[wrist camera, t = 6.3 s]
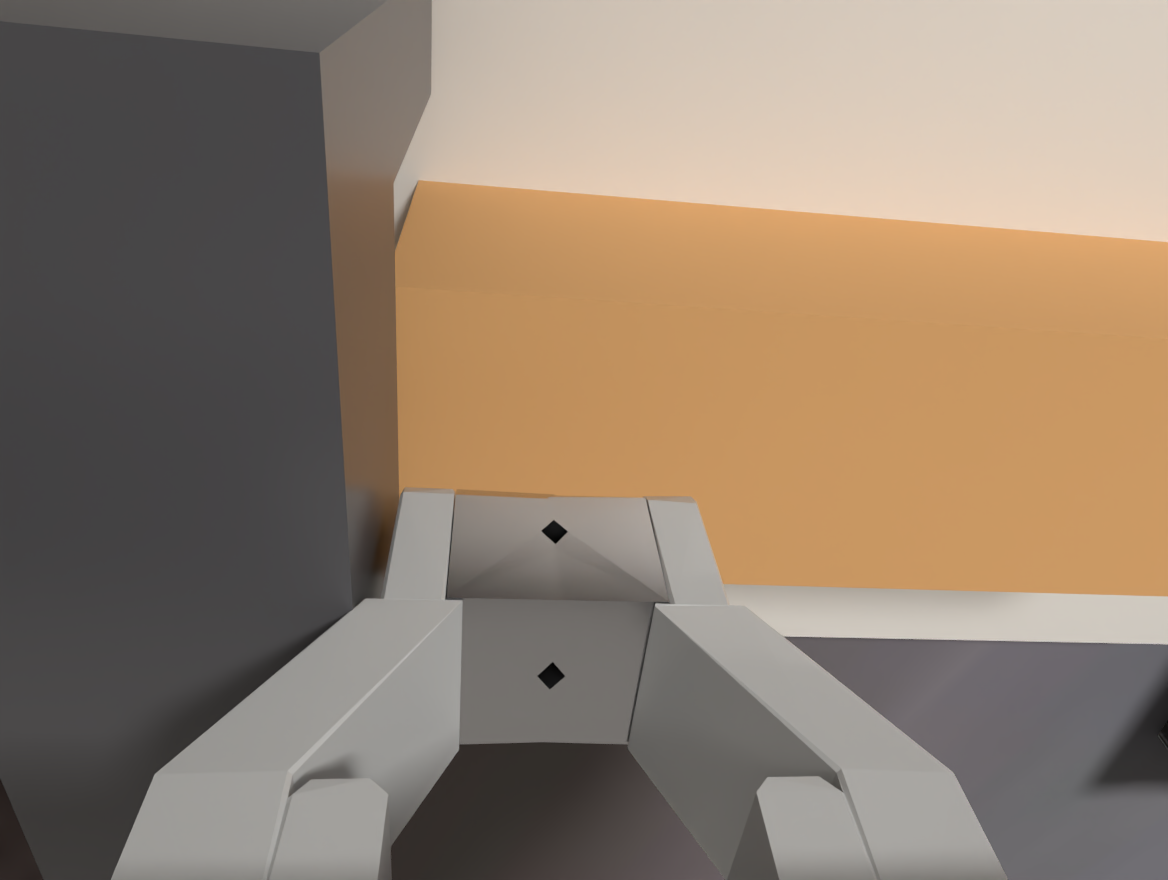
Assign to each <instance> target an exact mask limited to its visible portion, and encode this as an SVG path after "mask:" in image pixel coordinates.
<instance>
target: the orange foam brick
mask: <svg viewBox="0 0 1168 880" xmlns="http://www.w3.org/2000/svg"><path fill="white" fill-rule="evenodd" d="M395 294H396V351H397V407H398V464H399V499H400V495H401V493H402V491H403V490H404V488H405V487H413V488H441V489H453V490H454V491H455V492H456V491H457V489H464V490H482V491H501V492H519V493H537V494H555V495H559V496H599V497H639V498H643V496H691V497H692V498H693V499H694V500H695V501H696V502H697V504H698V508H699V511H700V514H701V517H702V520H703V523H704V526H705V529H706V532H707V535H708V539H709V542H710V545H711V548H712V551H713V554H714V557H715V560H716V563H717V566H718V570H719V573H720V576H721V579H722V582H723V584H737V585H773V586H809V587H845V588H881V589H916V590H952V591H988V592H1024V593H1060V594H1096V595H1131V596H1167V597H1168V242H1161V241H1148V240H1136V239H1124V238H1112V237H1100V236H1088V235H1076V234H1064V233H1052V232H1040V231H1028V230H1015V229H1003V228H991V227H979V226H967V225H955V224H943V223H931V222H919V221H907V220H894V219H882V218H870V217H858V216H846V215H834V214H822V213H810V212H798V211H786V210H773V209H761V208H749V207H737V206H725V205H713V204H701V203H689V202H677V201H665V200H652V199H640V198H628V197H616V196H604V195H592V194H580V193H568V192H556V191H544V190H532V189H519V188H507V187H495V186H483V185H471V184H459V183H447V182H435V181H423V180H419V181H418V184H417V187H416V190H415V193H414V196H413V199H412V202H411V205H410V208H409V211H408V214H407V217H406V220H405V223H404V226H403V229H402V232H401V235H400V238H399V241H398V244H397V247H396V250H395Z"/></svg>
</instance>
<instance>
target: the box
mask: <svg viewBox="0 0 1168 880" xmlns="http://www.w3.org/2000/svg"><path fill="white" fill-rule="evenodd" d="M1158 737H1159V738H1160V740H1161V741H1162V743H1163V744H1164V746H1165V747H1166V748H1167V750H1168V721H1167V723H1166V724H1165V725H1164V727H1163V728H1162V730H1161V731H1160V732H1159V734H1158Z"/></svg>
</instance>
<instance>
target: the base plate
mask: <svg viewBox="0 0 1168 880" xmlns="http://www.w3.org/2000/svg"><path fill="white" fill-rule="evenodd" d="M419 180H423V181H435V182H447V183H459V184H471V185H483V186H495V187H507V188H519V189H532V190H544V191H556V192H568V193H580V194H592V195H604V196H616V197H628V198H640V199H652V200H665V201H677V202H689V203H701V204H713V205H725V206H737V207H749V208H761V209H773V210H786V211H798V212H810V213H822V214H834V215H846V216H858V217H870V218H882V219H894V220H907V221H919V222H931V223H943V224H955V225H967V226H979V227H991V228H1003V229H1015V230H1028V231H1040V232H1052V233H1064V234H1076V235H1088V236H1100V237H1112V238H1124V239H1136V240H1148V241H1161V242H1168V0H432V51H431V96H430V98H429V100H428V103H427V105H426V107H425V110H424V112H423V115H422V117H421V119H420V122H419V124H418V126H417V129H416V131H415V134H414V136H413V138H412V141H411V143H410V145H409V148H408V150H407V153H406V155H405V157H404V160H403V162H402V164H401V167H400V169H399V172H398V174H397V176H396V179H395V181H394V238H395V250H396V247H397V244H398V241H399V238H400V235H401V232H402V229H403V226H404V223H405V220H406V217H407V214H408V211H409V208H410V205H411V202H412V199H413V196H414V193H415V190H416V187H417V184H418V181H419ZM723 585H724V588H725V591H726V594H727V597H728V601H729V604H730V605H735V606H746V607H747V608H748V609H749V610H751V611H752V612H753V613H754V614H756V615H757V616H758V617H759V618H761V619H762V620H763V621H764V622H766V623H767V624H768V625H769V626H771V627H772V628H773V629H774V630H776V631H777V632H778V633H779V634H781V635H782V636H792V637H841V638H890V639H938V640H987V641H1036V642H1084V643H1133V644H1168V597H1167V596H1131V595H1096V594H1060V593H1024V592H988V591H952V590H916V589H881V588H845V587H809V586H773V585H737V584H723Z"/></svg>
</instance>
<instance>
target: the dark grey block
mask: <svg viewBox="0 0 1168 880" xmlns="http://www.w3.org/2000/svg"><path fill="white" fill-rule="evenodd" d="M431 51H432V0H0V779H1V781H2V784H3V786H4V788H5V791H6V793H7V795H8V798H9V800H10V803H11V805H12V807H13V810H14V812H15V814H16V817H17V819H18V821H19V824H20V826H21V828H22V831H23V833H24V835H25V838H26V840H27V842H28V845H29V847H30V849H31V852H32V854H33V857H34V859H35V861H36V864H37V866H38V868H39V871H40V873H41V875H42V878H43V880H111V878H112V875H113V873H114V871H115V868H116V866H117V863H118V861H119V859H120V856H121V854H122V851H123V849H124V847H125V844H126V842H127V839H128V837H129V835H130V832H131V830H132V827H133V825H134V823H135V820H136V818H137V815H138V813H139V811H140V808H141V806H142V803H143V801H144V799H145V796H146V794H147V791H148V789H149V787H150V784H151V782H152V779H153V777H154V775H155V773H157V772H158V771H159V770H160V769H161V768H163V767H164V766H165V765H166V764H167V763H169V762H170V761H171V760H172V759H173V758H175V757H176V756H177V755H178V754H179V753H181V752H182V751H183V750H184V749H185V748H187V747H188V746H189V745H190V744H191V743H192V742H194V741H195V740H196V739H197V738H198V737H200V736H201V735H202V734H203V733H204V732H206V731H207V730H208V729H209V728H210V727H212V726H213V725H214V724H215V723H216V722H218V721H219V720H220V719H221V718H222V717H224V716H225V715H226V714H227V713H228V712H230V711H231V710H232V709H233V708H234V707H236V706H237V705H238V704H239V703H240V702H241V701H243V700H244V699H245V698H246V697H247V696H249V695H250V694H251V693H252V692H253V691H255V690H256V689H257V688H258V687H259V686H261V685H262V684H263V683H264V682H265V681H267V680H268V679H269V678H270V677H271V676H273V675H274V674H275V673H276V672H277V671H279V670H280V669H281V668H282V667H283V666H285V665H286V664H287V663H288V662H289V661H291V660H292V659H293V658H294V657H295V656H296V655H298V654H299V653H300V652H301V651H302V650H304V649H305V648H306V647H307V646H308V645H310V644H311V643H312V642H313V641H314V640H316V639H317V638H318V637H319V636H320V635H322V634H323V633H324V632H325V631H326V630H328V629H329V628H330V627H331V626H332V625H334V624H335V623H336V622H337V621H338V620H340V619H341V618H342V617H343V616H344V615H346V614H347V613H348V612H349V611H351V610H353V608H354V607H355V606H356V605H357V604H359V603H360V602H361V601H362V600H363V599H381V594H382V589H383V583H384V578H385V573H386V567H387V562H388V557H389V551H390V546H391V541H392V536H393V530H394V525H395V520H396V514H397V509H398V504H399V464H398V407H397V351H396V294H395V238H394V181H395V179H396V176H397V174H398V172H399V169H400V167H401V164H402V162H403V160H404V157H405V155H406V153H407V150H408V148H409V145H410V143H411V141H412V138H413V136H414V134H415V131H416V129H417V126H418V124H419V122H420V119H421V117H422V115H423V112H424V110H425V107H426V105H427V103H428V100H429V98H430V96H431ZM390 848H391V847H390Z"/></svg>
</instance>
